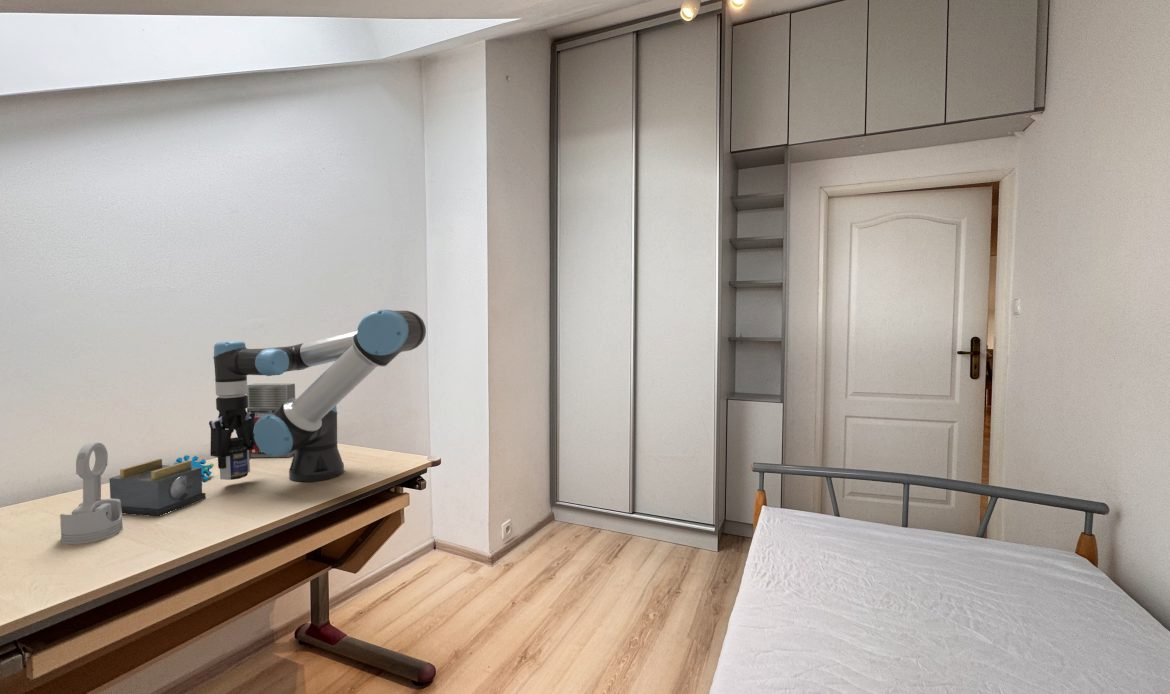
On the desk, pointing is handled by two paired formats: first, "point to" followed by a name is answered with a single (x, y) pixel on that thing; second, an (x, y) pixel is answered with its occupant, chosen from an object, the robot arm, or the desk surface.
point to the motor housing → (157, 487)
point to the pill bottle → (238, 458)
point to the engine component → (91, 502)
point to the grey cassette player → (267, 405)
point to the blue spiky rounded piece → (198, 465)
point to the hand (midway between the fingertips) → (235, 475)
